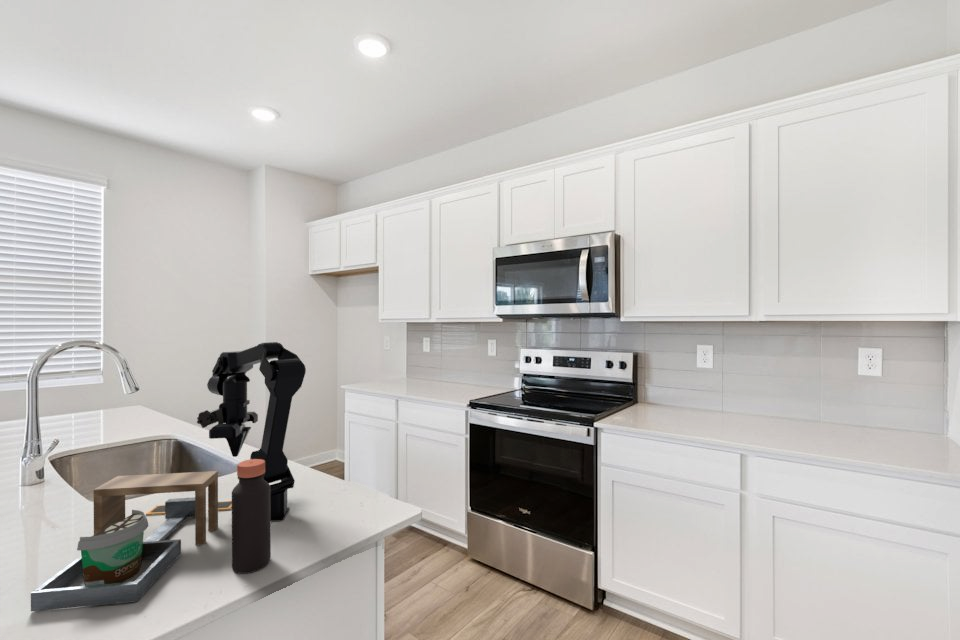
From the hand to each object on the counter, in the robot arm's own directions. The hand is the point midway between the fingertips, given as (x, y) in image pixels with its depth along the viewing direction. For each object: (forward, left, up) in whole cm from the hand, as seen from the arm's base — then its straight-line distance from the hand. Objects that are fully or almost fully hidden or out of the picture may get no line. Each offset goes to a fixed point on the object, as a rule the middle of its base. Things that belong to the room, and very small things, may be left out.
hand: (235, 456), depth 122 cm
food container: (+7, +36, -11) cm, 39 cm away
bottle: (-15, +36, -11) cm, 41 cm away
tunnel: (+8, +22, -11) cm, 26 cm away
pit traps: (+8, +6, -11) cm, 15 cm away
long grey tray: (+8, +28, -11) cm, 31 cm away
